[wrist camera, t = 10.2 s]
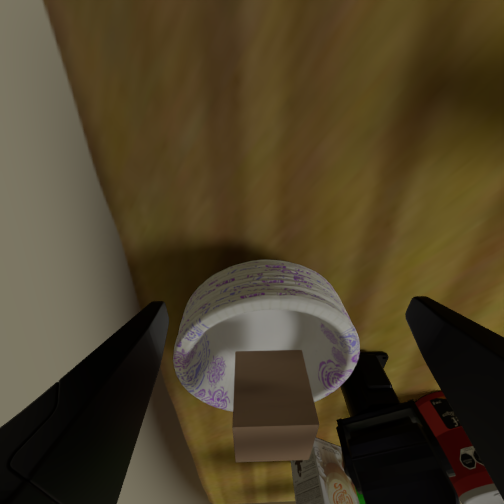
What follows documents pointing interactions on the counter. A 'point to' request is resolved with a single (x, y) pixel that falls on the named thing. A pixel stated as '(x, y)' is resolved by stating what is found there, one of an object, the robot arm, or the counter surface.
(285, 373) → the walnut block
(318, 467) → the coffee box
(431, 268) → the counter surface
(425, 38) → the counter surface
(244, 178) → the counter surface
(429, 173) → the counter surface
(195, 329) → the paper bowls
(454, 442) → the canned food
